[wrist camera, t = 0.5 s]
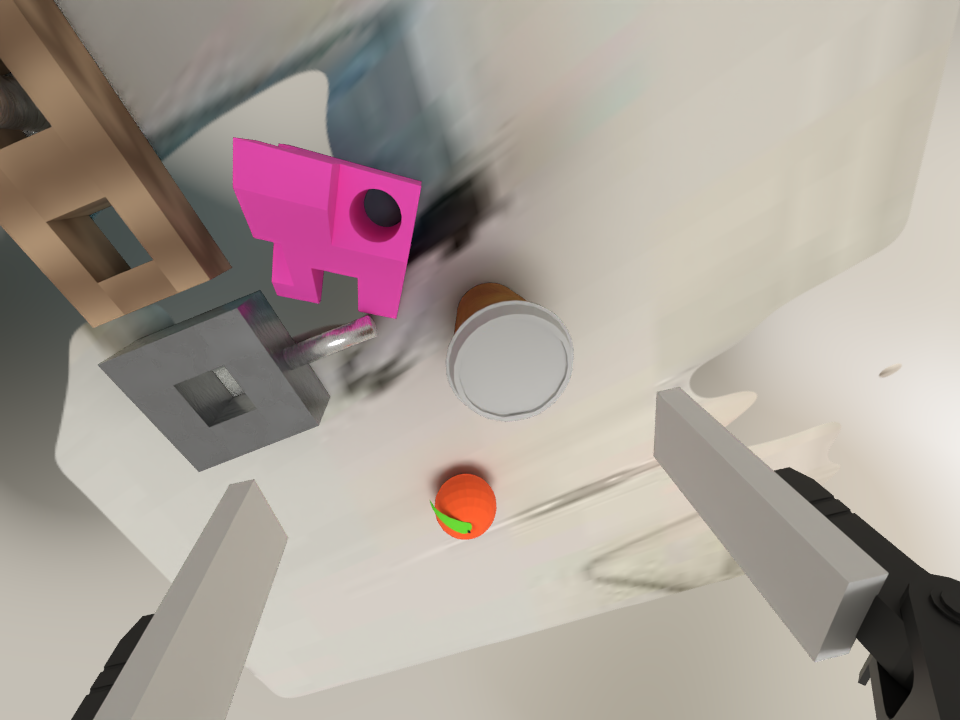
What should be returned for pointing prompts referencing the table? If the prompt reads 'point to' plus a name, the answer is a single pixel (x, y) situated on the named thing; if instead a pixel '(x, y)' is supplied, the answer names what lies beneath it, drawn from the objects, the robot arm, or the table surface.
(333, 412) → the table surface
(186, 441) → the block
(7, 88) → the dark knobbed metal peg
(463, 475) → the clementine
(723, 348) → the table surface
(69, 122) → the stand
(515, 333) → the disposable coffee cup
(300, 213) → the bracket
